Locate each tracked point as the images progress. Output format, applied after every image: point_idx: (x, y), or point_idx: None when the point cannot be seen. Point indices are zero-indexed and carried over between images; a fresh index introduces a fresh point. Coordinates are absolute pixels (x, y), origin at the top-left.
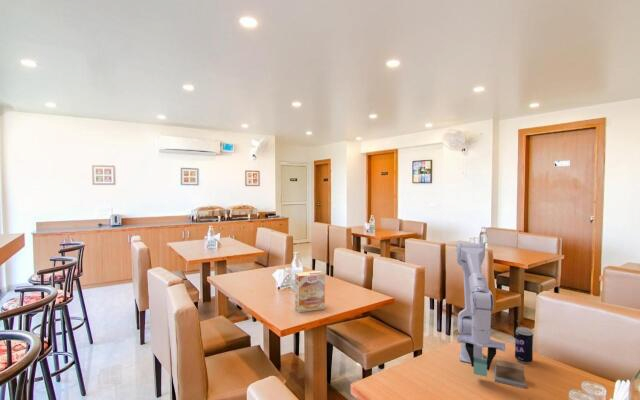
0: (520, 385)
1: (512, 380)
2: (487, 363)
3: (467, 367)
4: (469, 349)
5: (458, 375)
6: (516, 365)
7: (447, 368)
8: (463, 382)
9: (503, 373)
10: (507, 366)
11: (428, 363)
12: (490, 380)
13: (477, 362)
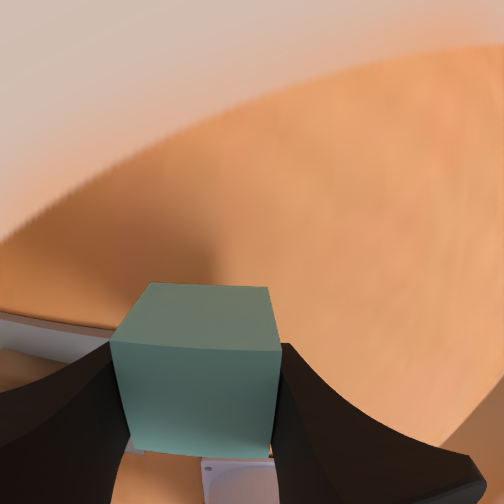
0: (8, 318)
1: (39, 350)
2: (104, 363)
3: None
4: (433, 481)
5: (357, 313)
6: None
7: (407, 361)
8: (333, 233)
9: None
10: None
11: (482, 356)
12: None
13: (230, 361)
